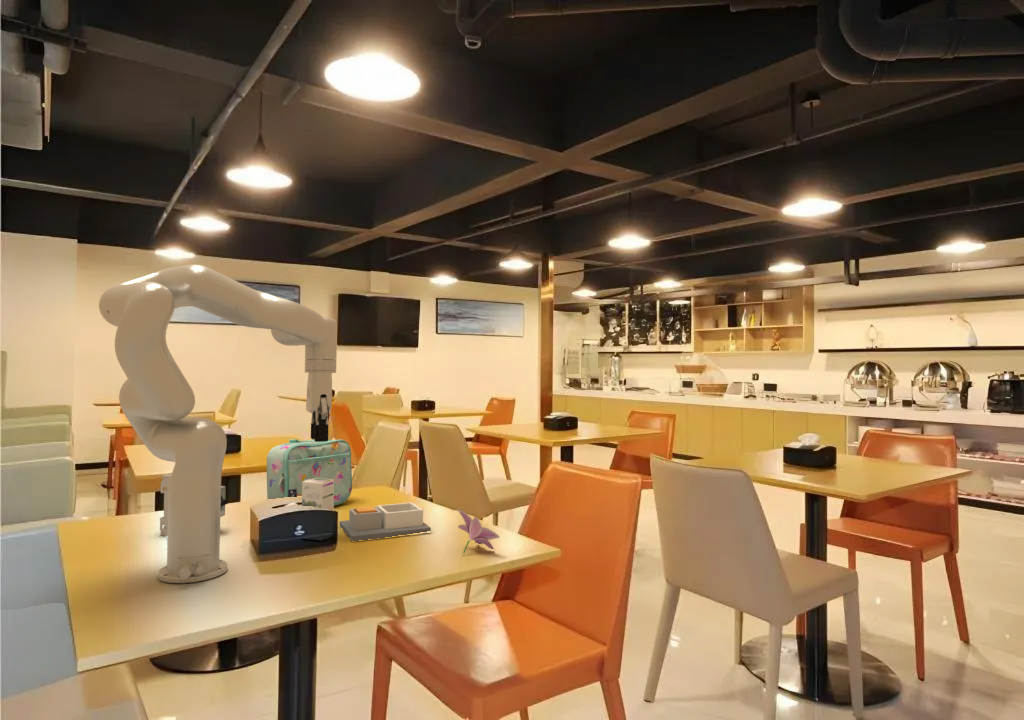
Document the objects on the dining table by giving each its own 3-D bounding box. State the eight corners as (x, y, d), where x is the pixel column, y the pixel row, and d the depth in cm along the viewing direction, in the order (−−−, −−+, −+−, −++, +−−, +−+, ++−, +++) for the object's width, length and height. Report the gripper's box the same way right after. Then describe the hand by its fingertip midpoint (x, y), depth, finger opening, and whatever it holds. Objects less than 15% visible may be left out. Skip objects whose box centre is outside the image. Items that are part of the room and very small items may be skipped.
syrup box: (334, 536, 155) (335, 478, 155) (320, 542, 149) (321, 482, 149) (314, 534, 156) (315, 476, 156) (300, 540, 150) (301, 480, 151)
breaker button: (375, 525, 158) (376, 510, 158) (358, 527, 156) (358, 511, 156) (371, 521, 162) (371, 506, 162) (354, 523, 160) (355, 507, 160)
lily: (500, 565, 137) (512, 523, 141) (452, 547, 134) (465, 505, 138) (481, 567, 147) (493, 527, 151) (436, 550, 144) (449, 511, 148)
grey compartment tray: (430, 533, 158) (431, 512, 158) (352, 542, 149) (352, 519, 149) (412, 519, 173) (412, 499, 173) (339, 526, 164) (339, 506, 164)
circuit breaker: (216, 537, 152) (217, 476, 152) (159, 536, 152) (160, 475, 152) (231, 529, 159) (232, 471, 160) (176, 528, 160) (177, 470, 160)
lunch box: (285, 521, 169) (286, 442, 170) (260, 516, 174) (262, 440, 175) (355, 503, 192) (356, 434, 193) (331, 499, 198) (332, 432, 198)
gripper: (300, 366, 159) (298, 437, 159) (310, 366, 144) (308, 444, 144) (330, 367, 163) (328, 436, 162) (342, 367, 147) (341, 443, 147)
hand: (319, 439), depth 153 cm, fingers open, 5 cm apart
